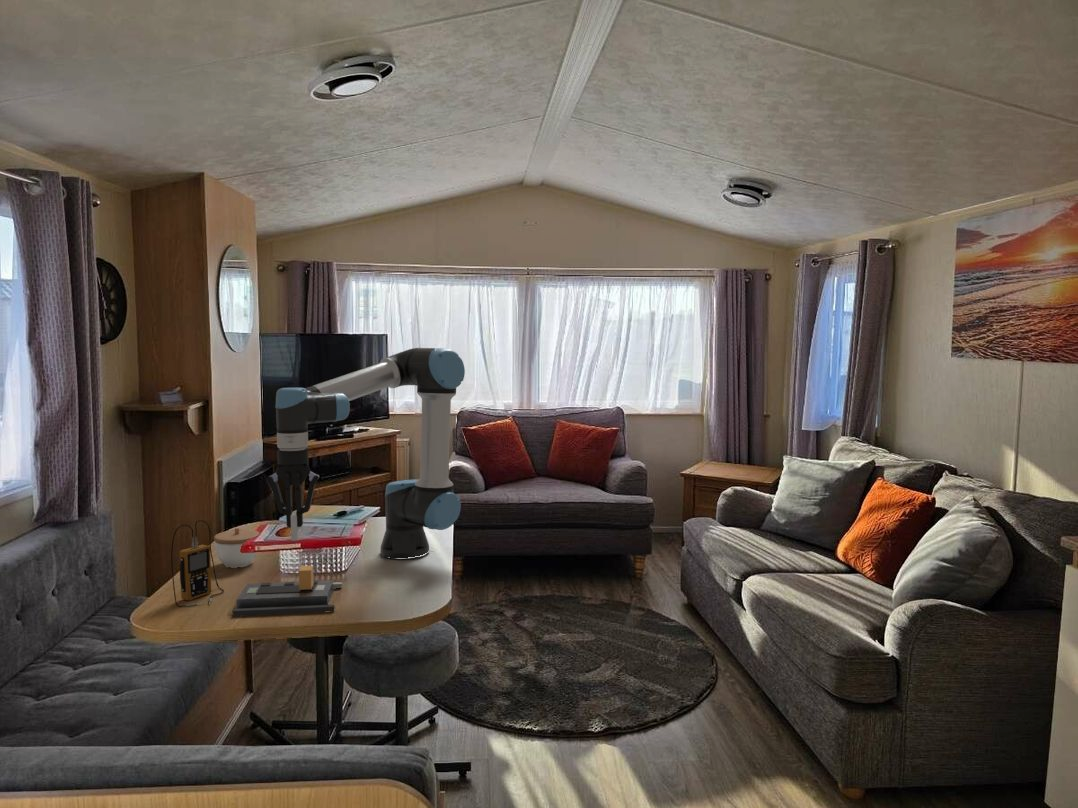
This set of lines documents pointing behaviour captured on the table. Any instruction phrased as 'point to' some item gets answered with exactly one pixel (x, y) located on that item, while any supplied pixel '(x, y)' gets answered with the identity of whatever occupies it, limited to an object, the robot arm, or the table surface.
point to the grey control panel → (284, 595)
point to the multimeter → (195, 570)
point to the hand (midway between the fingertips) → (295, 539)
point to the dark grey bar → (282, 610)
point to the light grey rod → (337, 585)
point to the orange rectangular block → (306, 577)
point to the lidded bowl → (234, 547)
